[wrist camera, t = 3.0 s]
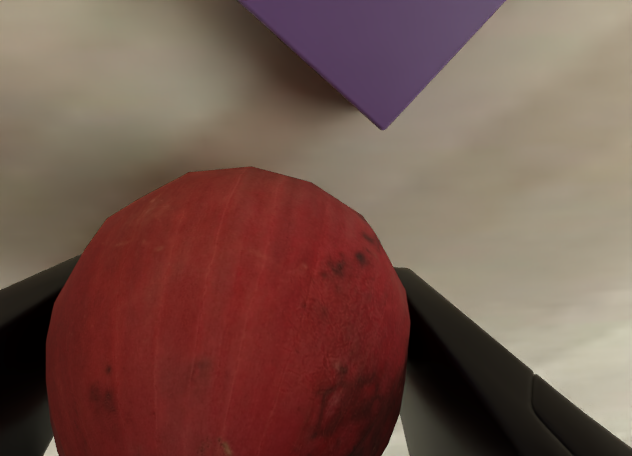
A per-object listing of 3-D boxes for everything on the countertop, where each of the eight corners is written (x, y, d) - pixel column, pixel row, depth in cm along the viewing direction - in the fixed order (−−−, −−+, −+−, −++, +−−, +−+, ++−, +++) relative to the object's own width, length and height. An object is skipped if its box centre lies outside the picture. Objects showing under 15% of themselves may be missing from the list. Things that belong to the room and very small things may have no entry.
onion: (374, 109, 9) (651, 530, 2) (374, 302, 11) (473, 751, 4) (124, 130, 9) (-606, 592, 2) (185, 315, 12) (0, 768, 5)
